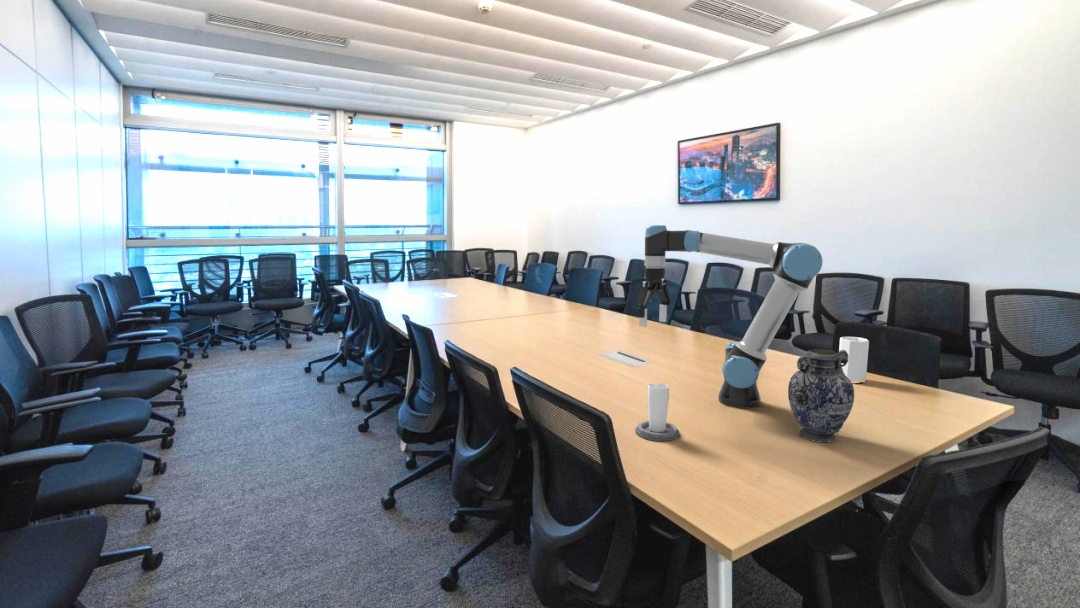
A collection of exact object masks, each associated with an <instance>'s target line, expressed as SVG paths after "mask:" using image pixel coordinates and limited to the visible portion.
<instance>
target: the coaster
mask: <svg viewBox="0 0 1080 608" xmlns="http://www.w3.org/2000/svg"><path fill="white" fill-rule="evenodd" d="M635 434H636V435H637V436H638V437H639V438H641V439H644V440H647V441H653V442H671V440H672V441H675V440H676V439H679V437H680V431H679V429H678V427H677V426H676V425H674V424H673V423H670V422H668V421H666V430H665V431H664V432H662V433H656V432H652V431H650V429H649V420H644V421H641V422H639V423H638V425H637V426H636V427H635Z"/></svg>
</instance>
